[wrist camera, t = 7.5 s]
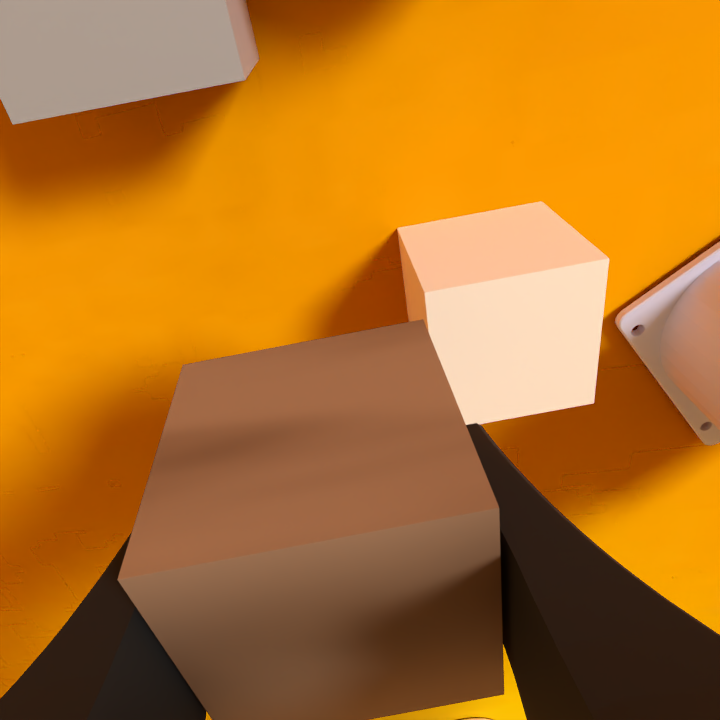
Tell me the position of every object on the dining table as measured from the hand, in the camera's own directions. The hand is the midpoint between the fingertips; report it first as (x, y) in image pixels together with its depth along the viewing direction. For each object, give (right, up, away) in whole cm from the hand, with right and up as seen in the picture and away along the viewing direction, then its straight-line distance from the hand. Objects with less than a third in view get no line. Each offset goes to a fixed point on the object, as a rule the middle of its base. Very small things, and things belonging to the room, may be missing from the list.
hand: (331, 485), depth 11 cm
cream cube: (+5, +6, +9) cm, 11 cm away
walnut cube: (0, +1, +1) cm, 2 cm away
